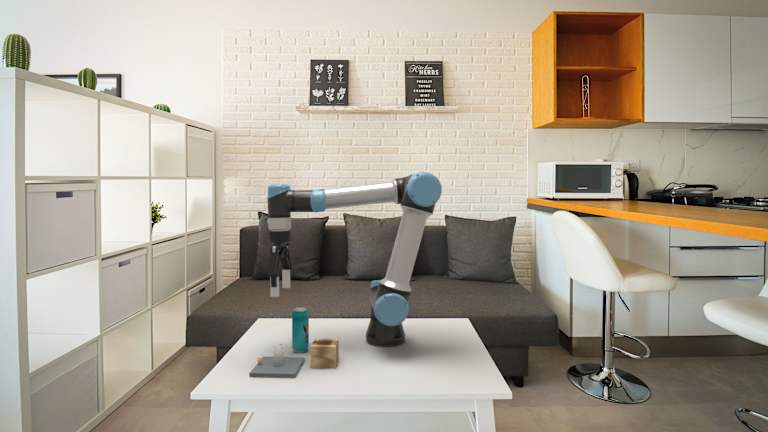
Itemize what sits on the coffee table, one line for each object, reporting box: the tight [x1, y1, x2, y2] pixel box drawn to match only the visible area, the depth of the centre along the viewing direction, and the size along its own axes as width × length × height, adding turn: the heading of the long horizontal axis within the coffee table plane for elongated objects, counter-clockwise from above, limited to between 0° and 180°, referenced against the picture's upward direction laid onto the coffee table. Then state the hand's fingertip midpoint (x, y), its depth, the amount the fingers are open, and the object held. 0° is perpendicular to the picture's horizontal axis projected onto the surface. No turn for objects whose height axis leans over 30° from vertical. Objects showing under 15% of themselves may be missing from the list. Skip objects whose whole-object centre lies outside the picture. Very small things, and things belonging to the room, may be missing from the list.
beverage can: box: [291, 306, 310, 354], centre depth 160 cm, size 6×6×15 cm
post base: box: [248, 344, 306, 379], centre depth 144 cm, size 14×14×7 cm
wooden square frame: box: [309, 337, 340, 370], centre depth 148 cm, size 8×8×7 cm
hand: (280, 292), depth 154 cm, fingers open, 13 cm apart
